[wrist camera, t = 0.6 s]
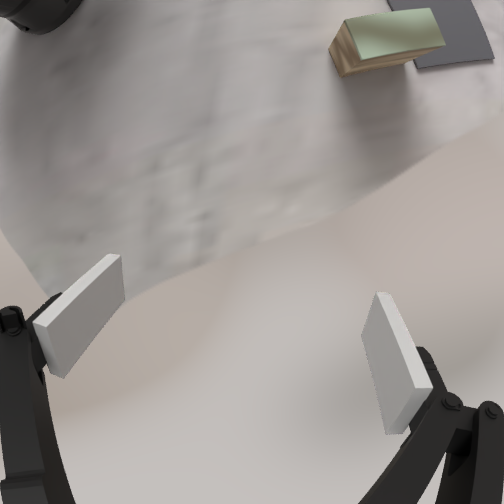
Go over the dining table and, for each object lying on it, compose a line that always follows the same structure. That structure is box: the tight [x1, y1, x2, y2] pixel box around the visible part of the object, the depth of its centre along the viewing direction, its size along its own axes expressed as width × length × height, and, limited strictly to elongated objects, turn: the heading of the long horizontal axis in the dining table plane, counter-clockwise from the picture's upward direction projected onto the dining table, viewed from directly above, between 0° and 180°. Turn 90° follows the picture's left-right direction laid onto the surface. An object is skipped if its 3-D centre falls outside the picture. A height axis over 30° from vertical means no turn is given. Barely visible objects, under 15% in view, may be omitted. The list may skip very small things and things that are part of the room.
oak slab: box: [329, 8, 446, 78], centre depth 26 cm, size 4×9×12 cm, turn 111°
